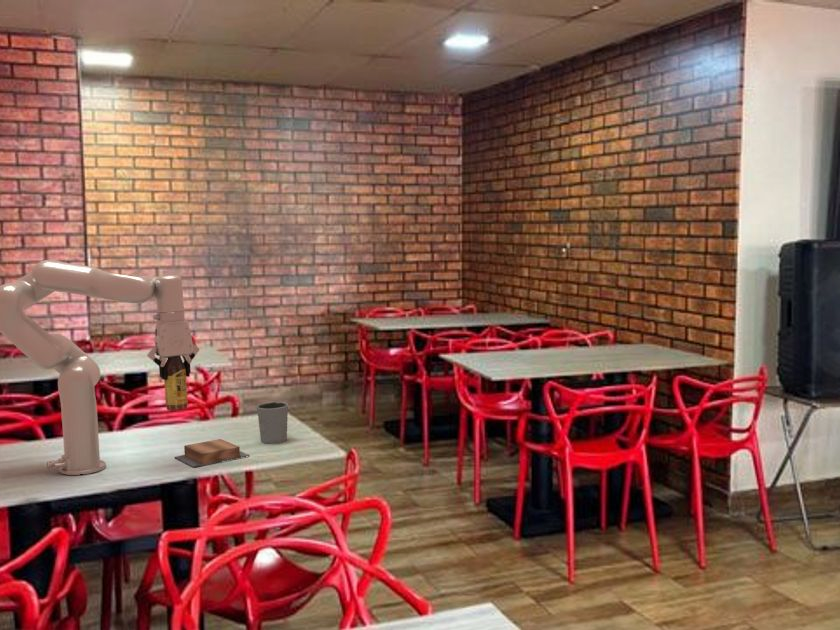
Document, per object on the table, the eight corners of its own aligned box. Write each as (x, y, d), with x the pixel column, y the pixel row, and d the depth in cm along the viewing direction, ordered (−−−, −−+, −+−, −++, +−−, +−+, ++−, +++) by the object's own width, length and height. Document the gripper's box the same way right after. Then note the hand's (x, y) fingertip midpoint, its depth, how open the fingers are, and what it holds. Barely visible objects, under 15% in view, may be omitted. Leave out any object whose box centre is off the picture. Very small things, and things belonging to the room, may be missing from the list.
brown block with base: (193, 468, 240) (193, 456, 239) (174, 458, 250) (174, 447, 250) (249, 456, 251) (249, 445, 250) (228, 447, 262) (228, 436, 261)
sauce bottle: (181, 411, 240) (176, 344, 238) (162, 411, 241) (156, 344, 239) (192, 406, 246) (187, 341, 244) (173, 406, 248) (168, 341, 245)
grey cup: (291, 436, 275) (289, 401, 273) (287, 444, 265) (285, 407, 263) (260, 437, 274) (259, 402, 273) (255, 445, 264) (254, 408, 263)
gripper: (146, 321, 233) (151, 383, 235) (204, 315, 243) (208, 375, 245) (137, 319, 238) (142, 380, 240) (194, 313, 249) (198, 372, 251)
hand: (175, 377), depth 243 cm, fingers closed on sauce bottle, 6 cm apart
